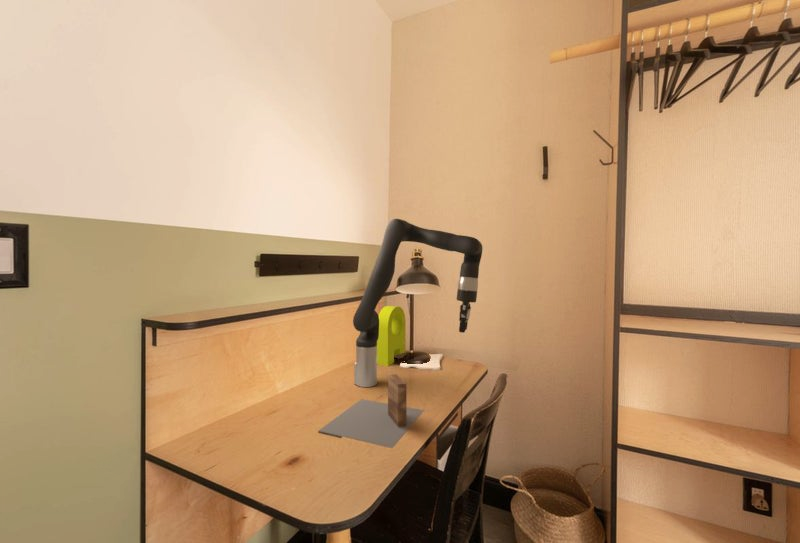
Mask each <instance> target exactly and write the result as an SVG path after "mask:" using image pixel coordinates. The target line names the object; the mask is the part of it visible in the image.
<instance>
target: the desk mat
mask: <svg viewBox="0 0 800 543" xmlns="http://www.w3.org/2000/svg"><path fill="white" fill-rule="evenodd" d="M424 411H425V410H424V409H419V408H413V407H408V406H407V412H406V426H401V427H398V426H397V425H396V424H395V423H394V421H393V420H392V419H391V418H390V416H389V415H388V402H387V403H385V402H381V401H375V400H369V399H364V398H360V399H359V400H358V401H357V402H355V403H354V404H352V405H351V406H349V408H347V409H345V411H343V412H341V413H340V414H339V415H338V416H336V417H335V418H333V419H332V420H331V421H329V422H328V423H327V424H325V425H324V426H322V428H320V429H318V430H317V431H318V432H317V433H320V434H323V435H330V436H333V437H336V438H337V437H338V438H341V439H342V438H348V439H351V440H352V439H353V440H356V441H360V442H365V443H369V444H374V445H376V446H381V447H385V448H390V449H393V448H394V447H395V446H396V445H397V443H398V442H399V441H400V440H401V438H402V437H403V436H404V435H405V434H406V432H407V431H408V430H409V429H410V428H411V427H412V425H413V424H414V423H415V422H416V421H417V420H418V418H419V417H420V416H421V415H422V413H423V412H424Z"/></svg>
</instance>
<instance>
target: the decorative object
mask: <svg viewBox="0 0 800 543" xmlns="http://www.w3.org/2000/svg"><path fill="white" fill-rule="evenodd" d="M378 316H379V337H378V340H377V366H378V365H380V366H386V367H389V366H391V365H392V364H394V363H395V359H394V356H395V355H397V354H401V353H404V352H405V353H406V322H407V321H406V314H405V311H404V309H403V308H402V307H401V306H395V305H385V306H384V307H382V309H380V311H379V313H378Z"/></svg>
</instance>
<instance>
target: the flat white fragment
mask: <svg viewBox="0 0 800 543" xmlns="http://www.w3.org/2000/svg"><path fill="white" fill-rule="evenodd" d="M428 354H429V353H428ZM429 355H430V356H431V359H430V361H429V362H427V363H423V364H407V363H402V362H400V364H399V367H400V368H405V369H410V368H415V369H418V370H429V371H430V370H433V371H439V370H441V360H443V358H444V354H443V353H434V354H432V353H430V354H429Z"/></svg>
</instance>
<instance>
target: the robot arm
mask: <svg viewBox="0 0 800 543" xmlns="http://www.w3.org/2000/svg"><path fill="white" fill-rule="evenodd" d="M402 242H410V243H411V242H412V243H413V242H414V243H420V244H424V245H426V246H430V247H433V248H436V249H439V250H440V249H441V250H444V251H448V252H456V253H460V254H462V255H463V261H462V263H461V265H460V270H459V271H460V272H459V279H458V283H457V292H456V301H459V302H462V304H461V305H459V314H458V315H459V318H458V322H459V328H458V332H459V333H464V334H465V332H466V330H467V328H468V321H469V319H470V315H471V310H472V307H471V303H476V302H477V297H478V288H479V271H480V268H479V267H480V263H481V260H482V255H483V244H482V243H481V241H480V240H479V239H477V237H475V236H474V237H473V236H468V235H462V234H455V233H451V232H446V231H443V230H437V229H436V230H435V229H429V228H424V227H420V226H417V225H415V224H413V223H410V222H408V221H406V220H404V219H400V218H393V219H391V220H390V221H389V222H388V223H387V225H386V227H385V231H384V235H383V238H382V243H381V247H380V249H379V251H378V252H379V253H378V254H377V258H376V260H375V263H374V266H373V269H372V271H371V274H370V275H369V279H368V282H367V285H366V288H365V291H364V292H363V293H364V294H363V295H362V298H361V300H360V303H359V305H358V307H357V309H356V310H355V313H354V315H353V319H352V324H353V328H354V329H355V331H357V332H359V335H358V337H357V338H356V340H355V347H356V348H355V349H356V350H355V353H356V354H355V358H356V359H355V362H354V364H353V366H354V368H353V370H354V371H353V372H354V375H353V376H354V377H353V378H354V380H353V383H354V385H357V386H358V387H361V388H371V387H374V386H377V383H378V364H377V340H378V337H379V313H378V312H377V311H376V309H377V308H376V307H377V306H378V304H379V303H380V301H381V299H382V298H383V297H384V295H385V294H386V293H387V291H388V290H389V287H390V285H391V283H392V281H393V278H394V274H395V269H396V255H397V251H398V249H399V247H400V245H401V243H402Z"/></svg>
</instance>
